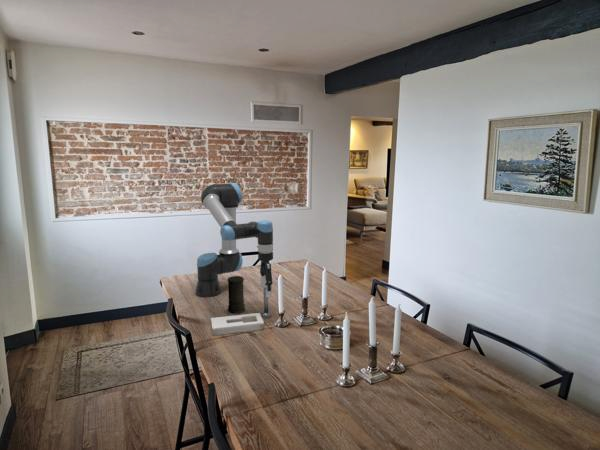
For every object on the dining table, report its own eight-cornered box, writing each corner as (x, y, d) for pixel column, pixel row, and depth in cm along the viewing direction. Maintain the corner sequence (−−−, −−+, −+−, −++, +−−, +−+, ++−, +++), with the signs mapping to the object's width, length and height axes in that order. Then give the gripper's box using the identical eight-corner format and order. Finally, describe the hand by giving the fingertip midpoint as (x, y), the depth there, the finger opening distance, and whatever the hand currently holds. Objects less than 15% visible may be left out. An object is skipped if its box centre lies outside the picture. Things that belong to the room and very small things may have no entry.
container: (246, 307, 214) (246, 275, 210) (242, 314, 205) (241, 281, 202) (230, 306, 215) (229, 275, 211) (225, 313, 206) (224, 280, 202)
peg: (260, 314, 205) (260, 287, 202) (270, 313, 206) (269, 286, 203) (262, 318, 200) (261, 290, 197) (272, 317, 201) (272, 289, 199)
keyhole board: (211, 324, 193) (211, 318, 192) (259, 319, 199) (259, 312, 199) (212, 335, 181) (212, 328, 181) (264, 329, 188) (263, 322, 187)
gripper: (254, 246, 207) (255, 285, 211) (262, 258, 184) (263, 301, 188) (268, 245, 209) (268, 283, 213) (278, 257, 186) (278, 300, 190)
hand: (266, 292), depth 200 cm, fingers open, 13 cm apart
